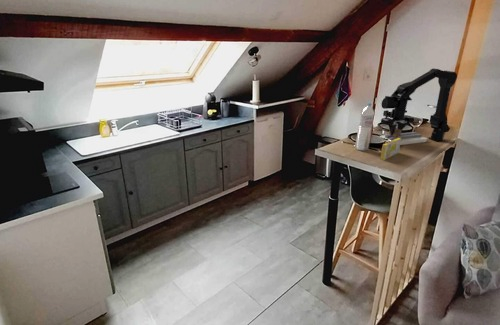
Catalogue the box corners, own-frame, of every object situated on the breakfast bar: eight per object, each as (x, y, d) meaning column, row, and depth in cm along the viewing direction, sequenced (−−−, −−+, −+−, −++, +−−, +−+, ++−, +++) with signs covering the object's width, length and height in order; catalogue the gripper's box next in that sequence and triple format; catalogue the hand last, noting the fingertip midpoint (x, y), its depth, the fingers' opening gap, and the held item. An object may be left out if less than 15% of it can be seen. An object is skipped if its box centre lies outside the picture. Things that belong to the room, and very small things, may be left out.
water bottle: (367, 147, 161) (376, 102, 151) (368, 152, 155) (377, 105, 145) (354, 146, 163) (362, 101, 153) (354, 150, 157) (362, 104, 147)
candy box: (394, 152, 156) (398, 137, 153) (398, 153, 155) (402, 138, 151) (379, 159, 147) (382, 143, 143) (383, 160, 145) (386, 145, 142)
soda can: (371, 145, 165) (375, 124, 160) (358, 144, 166) (362, 124, 161) (369, 141, 171) (373, 121, 166) (356, 140, 172) (360, 120, 168)
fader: (393, 136, 173) (395, 127, 171) (399, 138, 169) (401, 130, 167) (387, 136, 172) (389, 128, 170) (394, 139, 168) (396, 130, 165)
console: (410, 135, 182) (411, 130, 180) (426, 141, 172) (428, 136, 170) (378, 139, 175) (380, 133, 174) (393, 145, 165) (394, 139, 163)
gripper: (402, 104, 173) (396, 129, 179) (376, 106, 167) (371, 131, 174) (417, 108, 163) (411, 134, 169) (390, 110, 158) (385, 137, 164)
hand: (394, 134), depth 169 cm, fingers closed on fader, 4 cm apart
